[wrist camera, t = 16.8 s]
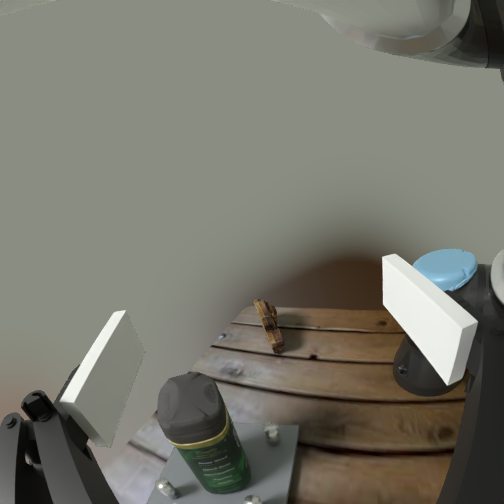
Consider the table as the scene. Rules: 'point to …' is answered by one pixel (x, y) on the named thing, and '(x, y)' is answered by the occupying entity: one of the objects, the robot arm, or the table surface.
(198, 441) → the coffee jar
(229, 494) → the base plate
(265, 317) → the wooden carving
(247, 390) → the table surface
